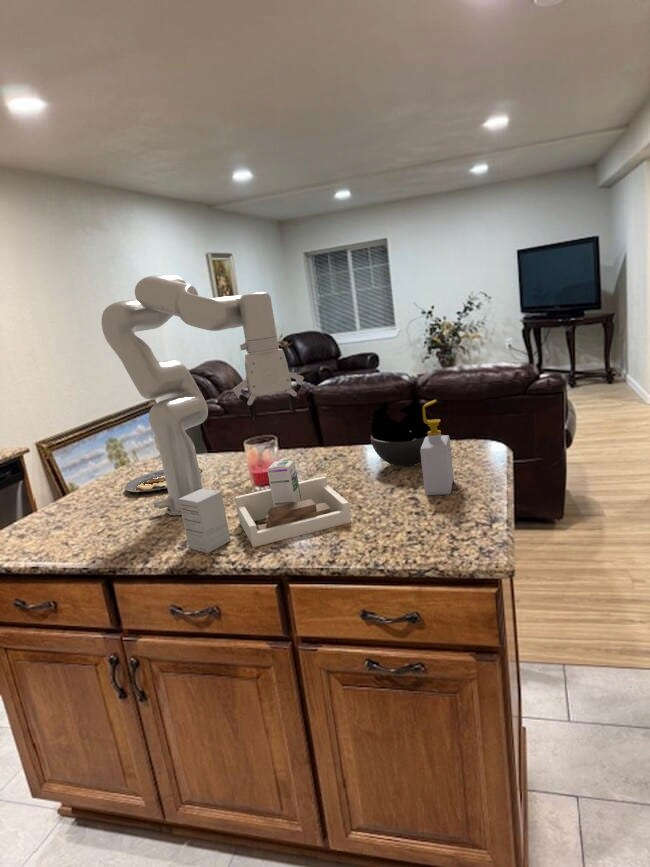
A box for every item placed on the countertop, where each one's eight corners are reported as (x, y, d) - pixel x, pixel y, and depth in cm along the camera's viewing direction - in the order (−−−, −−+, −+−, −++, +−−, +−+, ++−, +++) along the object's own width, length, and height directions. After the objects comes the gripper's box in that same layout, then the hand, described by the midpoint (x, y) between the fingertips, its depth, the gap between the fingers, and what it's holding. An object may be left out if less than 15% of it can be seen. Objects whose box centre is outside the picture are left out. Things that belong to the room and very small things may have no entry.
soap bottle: (451, 495, 152) (442, 404, 146) (424, 496, 153) (415, 406, 148) (453, 479, 163) (445, 394, 158) (429, 480, 165) (420, 397, 159)
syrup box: (298, 521, 148) (289, 465, 145) (275, 523, 150) (266, 467, 146) (304, 513, 154) (295, 459, 150) (281, 514, 155) (273, 460, 152)
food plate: (209, 468, 211) (207, 458, 210) (194, 490, 188) (191, 479, 187) (140, 479, 212) (138, 469, 211) (117, 502, 189) (114, 491, 189)
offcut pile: (263, 541, 140) (259, 517, 139) (259, 533, 146) (255, 510, 144) (335, 523, 145) (332, 501, 143) (329, 516, 150) (326, 494, 149)
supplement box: (211, 536, 147) (202, 487, 144) (231, 541, 142) (222, 490, 139) (187, 548, 141) (177, 498, 139) (207, 553, 137) (197, 501, 134)
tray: (253, 547, 137) (248, 518, 135) (239, 522, 154) (235, 496, 152) (351, 522, 143) (347, 494, 142) (328, 501, 160) (324, 476, 158)
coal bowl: (452, 466, 174) (446, 403, 170) (388, 480, 169) (380, 416, 165) (423, 451, 193) (417, 394, 189) (365, 464, 188) (357, 406, 184)
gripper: (229, 352, 136) (242, 425, 140) (301, 340, 141) (312, 411, 145) (224, 351, 143) (236, 420, 147) (293, 339, 148) (303, 407, 152)
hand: (274, 416), depth 146 cm, fingers open, 9 cm apart
